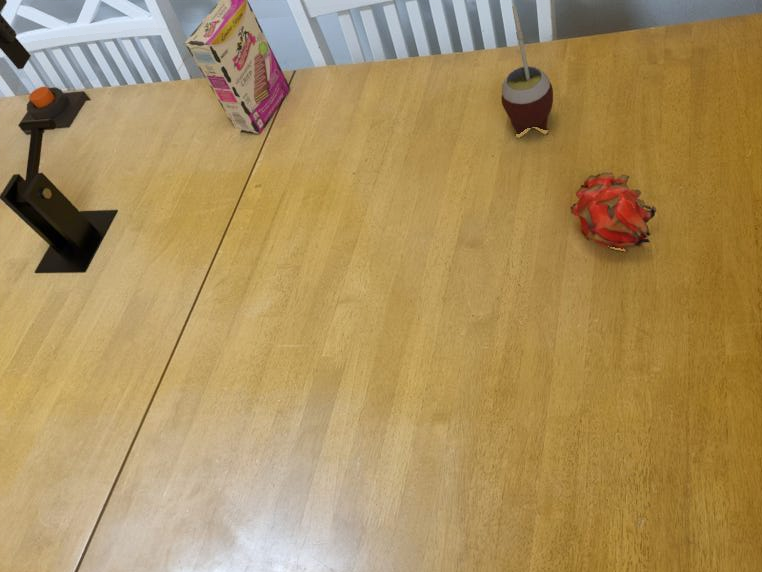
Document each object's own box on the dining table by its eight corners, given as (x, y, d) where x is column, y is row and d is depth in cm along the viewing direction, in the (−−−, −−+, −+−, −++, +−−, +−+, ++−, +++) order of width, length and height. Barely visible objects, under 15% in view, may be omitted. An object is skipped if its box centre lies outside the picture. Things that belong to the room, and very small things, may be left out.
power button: (32, 109, 128) (25, 101, 126) (41, 95, 130) (34, 87, 128) (49, 108, 127) (42, 99, 126) (58, 94, 129) (51, 85, 127)
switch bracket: (73, 216, 115) (14, 155, 105) (122, 214, 113) (66, 152, 103) (39, 277, 109) (-27, 218, 99) (89, 276, 107) (27, 217, 97)
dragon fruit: (587, 209, 96) (646, 270, 91) (542, 214, 91) (603, 279, 86) (619, 154, 91) (685, 216, 86) (575, 156, 85) (641, 222, 80)
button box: (26, 135, 131) (10, 117, 127) (46, 104, 135) (31, 86, 131) (73, 131, 128) (57, 113, 125) (92, 101, 132) (77, 82, 129)
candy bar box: (261, 135, 116) (209, 45, 103) (236, 132, 118) (181, 43, 105) (293, 88, 121) (247, -4, 108) (268, 86, 123) (220, -5, 109)
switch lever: (31, 125, 105) (16, 117, 103) (59, 123, 104) (46, 115, 102) (21, 207, 104) (6, 201, 102) (50, 206, 103) (36, 200, 100)
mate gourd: (532, 149, 102) (514, 56, 90) (494, 127, 106) (472, 35, 94) (569, 119, 104) (557, 23, 91) (531, 98, 108) (514, 4, 95)
